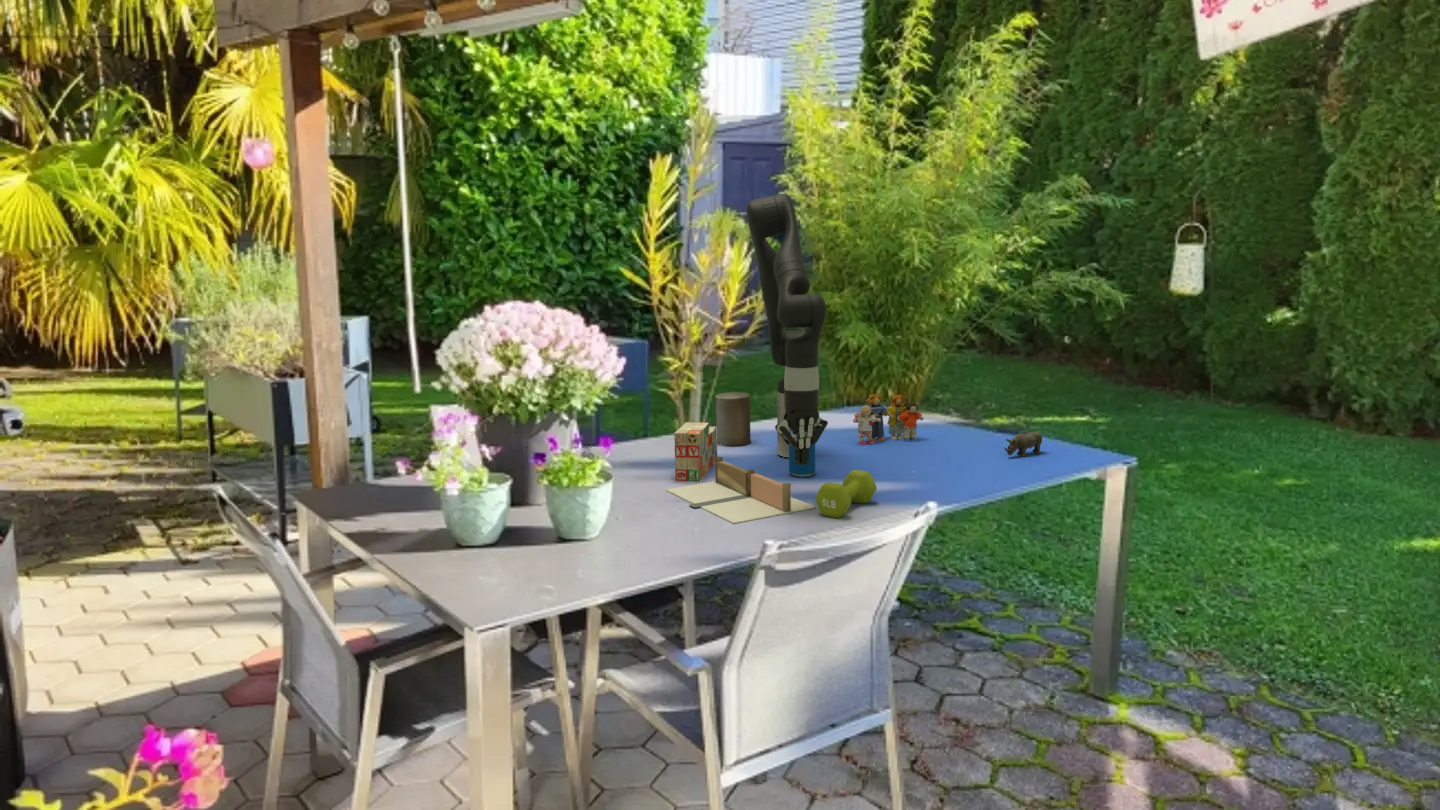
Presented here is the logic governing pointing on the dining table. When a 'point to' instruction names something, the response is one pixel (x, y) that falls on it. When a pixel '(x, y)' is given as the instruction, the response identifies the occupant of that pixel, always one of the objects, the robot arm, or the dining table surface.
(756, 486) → the gate
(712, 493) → the card
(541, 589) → the dining table surface
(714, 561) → the dining table surface
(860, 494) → the dumbbell
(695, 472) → the stack of blocks
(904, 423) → the doll family
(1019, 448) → the rhino figurine
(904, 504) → the dining table surface
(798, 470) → the beverage can
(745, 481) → the wooden fence panel
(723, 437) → the pillar candle
